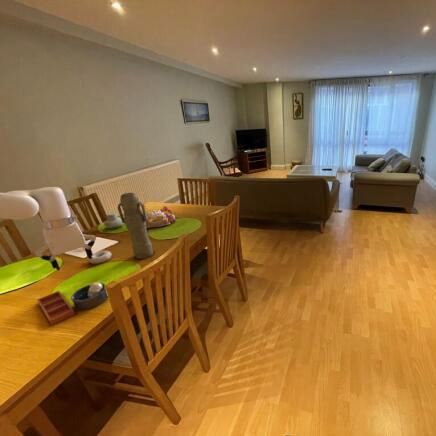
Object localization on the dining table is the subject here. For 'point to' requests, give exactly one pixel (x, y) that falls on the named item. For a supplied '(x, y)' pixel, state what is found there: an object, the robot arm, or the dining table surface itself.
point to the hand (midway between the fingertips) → (74, 263)
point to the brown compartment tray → (55, 307)
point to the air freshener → (112, 221)
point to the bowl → (87, 298)
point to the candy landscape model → (159, 218)
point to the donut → (100, 257)
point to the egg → (95, 289)
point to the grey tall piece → (136, 224)
